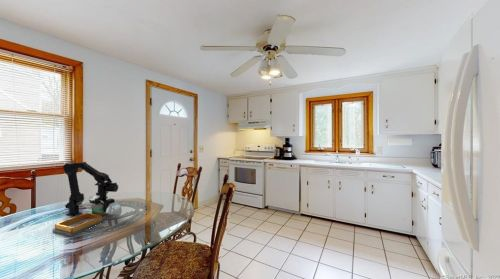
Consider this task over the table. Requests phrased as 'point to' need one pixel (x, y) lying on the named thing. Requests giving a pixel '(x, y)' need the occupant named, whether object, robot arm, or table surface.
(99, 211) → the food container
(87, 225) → the wooden tray
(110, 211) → the table surface
